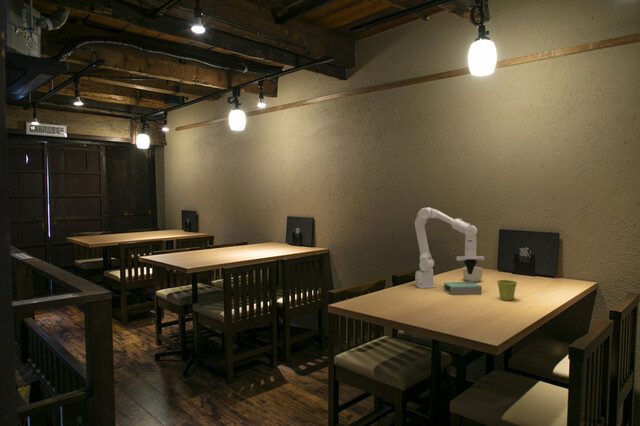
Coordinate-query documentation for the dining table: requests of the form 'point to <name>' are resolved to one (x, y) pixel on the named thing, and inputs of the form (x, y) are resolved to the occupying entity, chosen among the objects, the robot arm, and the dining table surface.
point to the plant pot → (506, 289)
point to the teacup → (474, 276)
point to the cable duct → (462, 290)
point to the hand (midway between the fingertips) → (469, 273)
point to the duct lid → (462, 285)
